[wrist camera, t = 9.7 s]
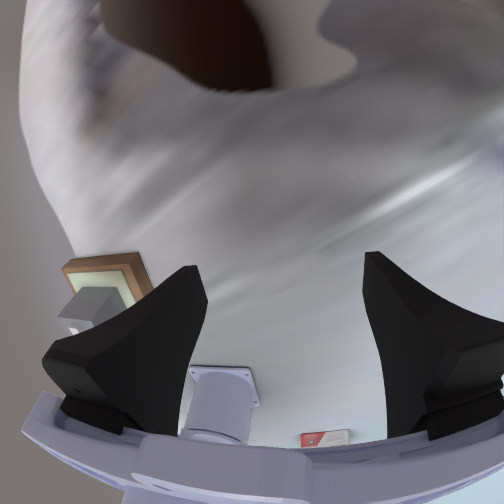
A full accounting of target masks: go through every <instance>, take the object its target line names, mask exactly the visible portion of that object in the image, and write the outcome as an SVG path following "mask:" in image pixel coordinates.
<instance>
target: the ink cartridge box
mask: <svg viewBox="0 0 504 504" xmlns="http://www.w3.org/2000/svg"><path fill="white" fill-rule="evenodd" d="M343 445H349V432H348V430H347V429H345V430H338V431H330V432H320V433H309V434H302V435H301V448H319V447H333V446H343Z"/></svg>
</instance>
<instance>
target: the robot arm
mask: <svg viewBox="0 0 504 504" xmlns="http://www.w3.org/2000/svg"><path fill="white" fill-rule="evenodd" d="M362 293H363V298H364V303H365V308H366V313H367V316H368V319H369V322H370V325H371V328H372V332H373V335H374V338H375V341H376V345H377V348H378V351H379V355H380V359H381V365H382V371H383V378H384V386H385V396H386V409H387V439H385V440H379V441H373V442H367V443H360V444H352V445H343V446H333V447H319V448H294V449H286V448H275V447H265V446H247V444H246V443H247V441H248V438H249V431H250V424H251V418H252V411H253V407H258V406H260V401H259V397H258V394H257V391H256V387H255V384H254V380H253V377H252V374H251V370H250V369H248V368H223V367H201V366H189V372H190V373H191V375H192V377H193V379H194V381H195V382H196V384H197V385H196V389H195V392H194V395H193V399H192V402H191V405H190V409H189V412H188V415H187V419H186V422H185V425H184V429H183V428H182V429H181V433H180V436H179V434H177V433H178V421H179V413H180V405H181V399H182V393H183V388H184V383H185V378H186V373H187V369H188V365H189V362H190V359H191V356H192V353H193V350H194V348H195V345H196V342H197V339H198V337H199V334H200V331H201V328H202V325H203V322H204V319H205V315H206V310H207V304H208V299H207V296H206V293H205V290H204V287H203V284H202V281H201V277H200V274H199V271H198V268H197V265H191V266H184V267H182V268H180V269H179V270H178V271H176V272H175V273H174V274H172V275H171V276H170V277H169V278H167V279H166V280H165V281H164V282H162V283H161V284H160V285H159V286H157V287H156V288H155V289H154V290H152V291H151V292H150V293H148V294H147V295H146V296H144V297H143V298H142V299H140V300H139V301H138V302H136V303H135V304H134V305H132V306H131V307H129V308H128V309H126V310H124V311H123V312H121V313H120V314H118V315H116V316H114V317H112V318H111V319H109V320H107V321H105V322H103V323H101V324H99V325H97V326H95V327H93V328H90V329H88V330H86V331H83V332H81V333H78V334H75V335H72V336H69V337H66V338H63V339H60V340H56V341H55V342H54V343H53V344H52V345H51V347H50V348H49V350H48V351H47V353H46V354H45V356H44V357H43V358H42V364H43V368H44V369H45V371H46V372H47V374H48V375H49V376H50V377H51V379H52V380H53V381H54V382H55V383H56V384H57V385H58V386H59V388H60V389H61V390H62V391H63V392H64V393H65V394H66V397H65V399H64V400H63V399H62V398H60V397H59V396H57V395H54V394H52V393H50V392H47V391H45V390H43V391H42V393H41V395H40V396H39V398H38V400H37V401H36V403H35V405H34V407H33V408H32V411H31V412H30V414H29V416H28V418H27V419H26V421H25V423H24V425H23V427H22V429H21V431H22V432H23V433H24V434H25V435H26V436H28V437H29V438H30V439H31V440H33V441H34V442H35V443H37V444H38V445H39V446H41V447H42V448H44V449H45V450H47V451H48V452H49V453H51V454H52V455H54V456H55V457H57V458H58V459H60V460H62V461H63V462H65V463H67V464H69V465H71V466H73V467H74V468H76V469H78V470H80V471H82V472H84V473H86V474H87V475H89V476H91V477H94V478H96V479H98V480H100V481H102V482H104V483H106V484H108V485H111V486H113V487H116V488H118V489H120V490H123V491H125V494H124V497H123V500H122V503H121V504H422V503H425V502H428V501H431V500H434V499H437V498H440V497H442V496H445V495H447V494H450V493H453V492H455V491H457V490H459V489H462V488H464V487H466V486H469V485H471V484H473V483H475V482H477V481H479V480H481V479H483V478H485V477H487V476H489V475H491V474H493V473H495V472H497V471H498V470H500V469H502V468H504V396H502V393H501V391H500V389H502V388H503V382H502V380H501V377H502V375H503V374H504V322H500V321H497V320H493V319H490V318H486V317H484V316H481V315H478V314H476V313H473V312H471V311H468V310H466V309H464V308H461V307H459V306H457V305H455V304H453V303H451V302H449V301H447V300H446V299H444V298H442V297H440V296H439V295H437V294H435V293H434V292H432V291H431V290H429V289H427V288H426V287H424V286H423V285H422V284H420V283H419V282H417V281H416V280H415V279H413V278H412V277H411V276H409V275H408V274H407V273H406V272H404V271H403V270H402V269H401V268H399V267H398V266H397V265H396V264H394V263H393V262H392V261H391V260H390V259H388V258H387V257H386V256H385V255H383V254H382V253H381V252H379V251H375V252H365V262H364V277H363V289H362Z"/></svg>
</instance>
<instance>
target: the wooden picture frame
mask: <svg viewBox="0 0 504 504" xmlns="http://www.w3.org/2000/svg"><path fill="white" fill-rule="evenodd" d="M62 271H63V273H64V275H65V277H66V279H67V281H68V283H69V285H70V287H71V289H72V291H73V293H74V295H76V293H77V292H78V291H79V290H80V289H81V288H82V287H117V289H118V291H119V293H120V295H121V297H122V299H123V301H124V303H125V305H126V307H127V309H128V308H129V307H131V306H132V305H134V304H135V303H136V302H138V301H139V300H140V299H142V298H143V297H144V296H146V295H147V294H148V293H150V292H151V291H152V290H153V287H152V285H151V283H150V280H149V278H148V275H147V273H146V270H145V268H144V265H143V263H142V260H141V257H140V255H139V252H136V253H126V254H116V255H106V256H96V257H87V258H77V259H71V260H70V261H69V262H68V263H67V264H66V265H64V266H63V267H62Z"/></svg>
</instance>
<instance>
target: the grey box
mask: <svg viewBox="0 0 504 504" xmlns="http://www.w3.org/2000/svg"><path fill="white" fill-rule="evenodd" d="M126 309H127V307H126V305H125V303H124V301H123V299H122V297H121V295H120V293H119V291H118V289H117V287H82V288H81V289H80V290H79V291H78V292H77V293H76V295H75V296H74V297H73V298H72V299H71V301H70V302H69V303H68V304H67V305H66V306H65V308H64V309H63V310H62V311H61V313H60V314H59V315H58V316H57V318H58V319H59V321H60V322H61V324H62V326H63V327H64V329H65V330H66V332H67V333H68V335H69V336H72V335H75V334H78V333H81V332H83V331H86V330H88V329H90V328H93V327H95V326H97V325H99V324H101V323H103V322H105V321H107V320H109V319H111V318H112V317H114V316H116V315H118V314H120V313H121V312H123V311H124V310H126Z"/></svg>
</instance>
